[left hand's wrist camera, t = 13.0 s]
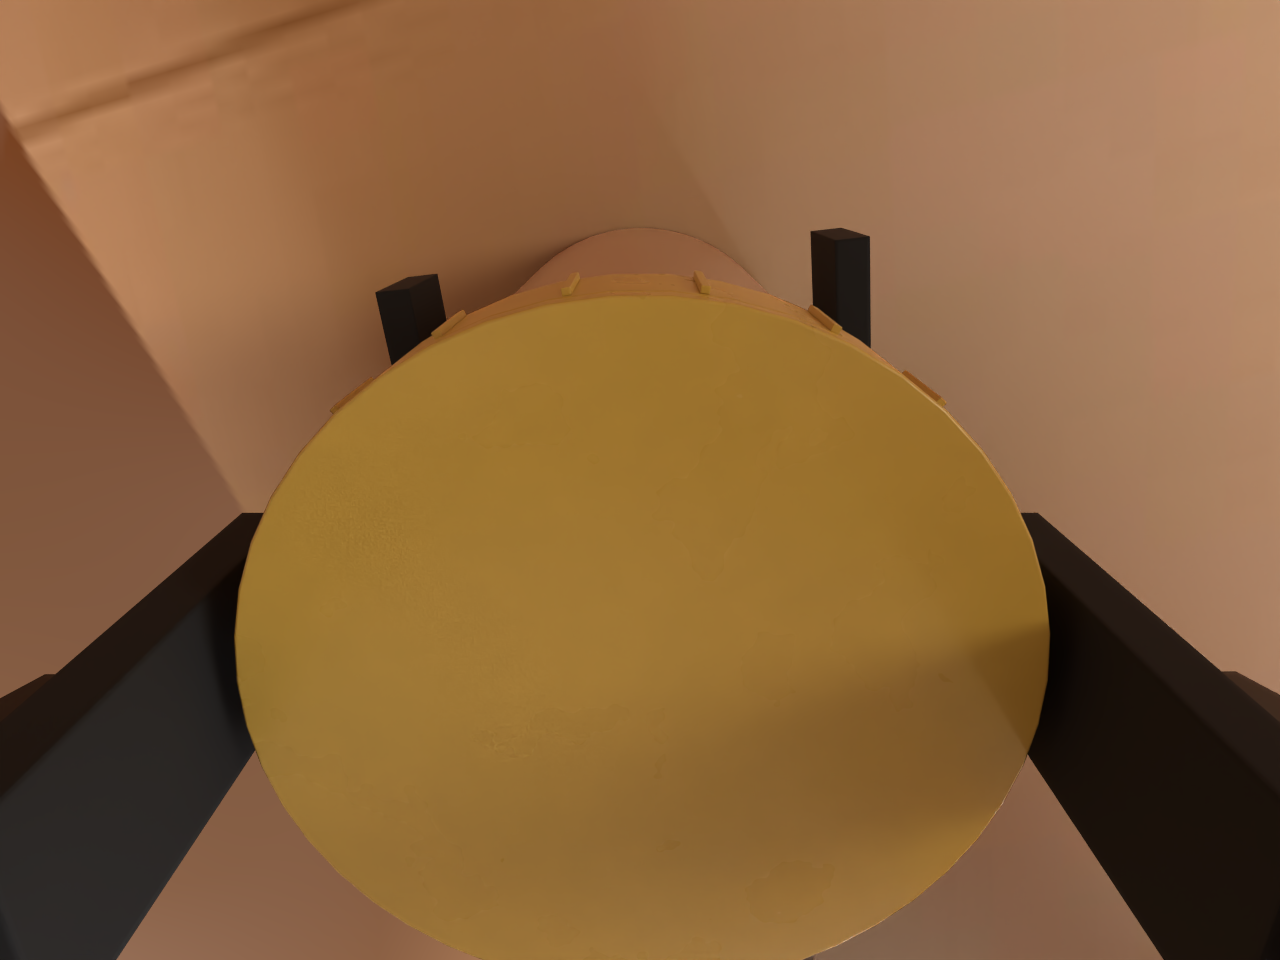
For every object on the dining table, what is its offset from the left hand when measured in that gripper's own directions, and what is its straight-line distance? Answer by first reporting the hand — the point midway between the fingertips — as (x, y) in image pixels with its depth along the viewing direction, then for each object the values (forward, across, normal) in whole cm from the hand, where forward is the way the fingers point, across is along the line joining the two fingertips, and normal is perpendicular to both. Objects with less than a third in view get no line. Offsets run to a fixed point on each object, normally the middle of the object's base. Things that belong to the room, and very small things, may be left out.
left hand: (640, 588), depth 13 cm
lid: (-3, 0, 0) cm, 3 cm away
